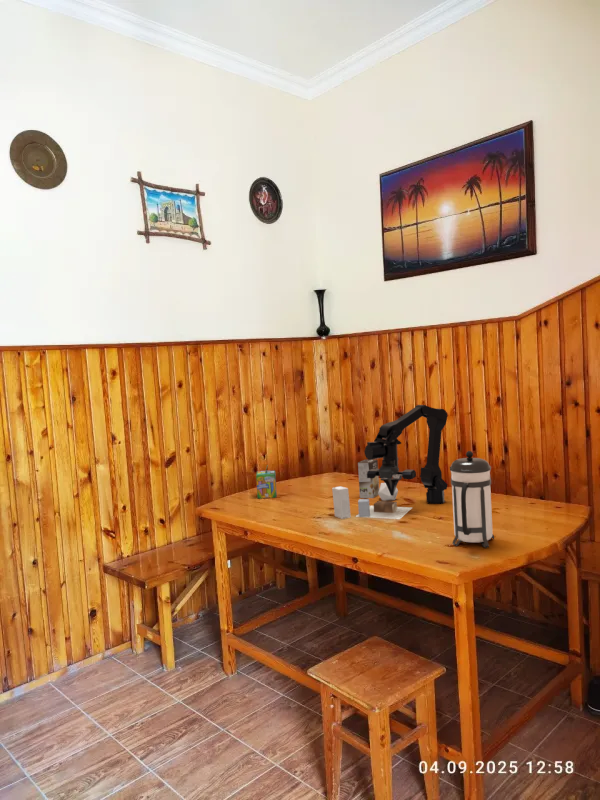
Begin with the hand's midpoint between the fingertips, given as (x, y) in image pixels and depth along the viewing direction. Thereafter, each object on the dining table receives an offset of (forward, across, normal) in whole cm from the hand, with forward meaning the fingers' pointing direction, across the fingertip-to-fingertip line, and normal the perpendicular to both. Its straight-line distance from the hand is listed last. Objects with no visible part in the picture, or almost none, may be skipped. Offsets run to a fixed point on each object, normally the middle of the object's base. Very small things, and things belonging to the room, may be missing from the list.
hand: (392, 495), depth 239 cm
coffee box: (+7, -19, +26) cm, 33 cm away
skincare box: (+7, -17, -12) cm, 22 cm away
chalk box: (+7, -67, +17) cm, 70 cm away
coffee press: (+7, +37, -32) cm, 49 cm away
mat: (+7, -3, -2) cm, 8 cm away
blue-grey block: (+6, -9, -8) cm, 14 cm away
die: (+7, -8, +19) cm, 22 cm away
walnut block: (+5, +1, 0) cm, 5 cm away
